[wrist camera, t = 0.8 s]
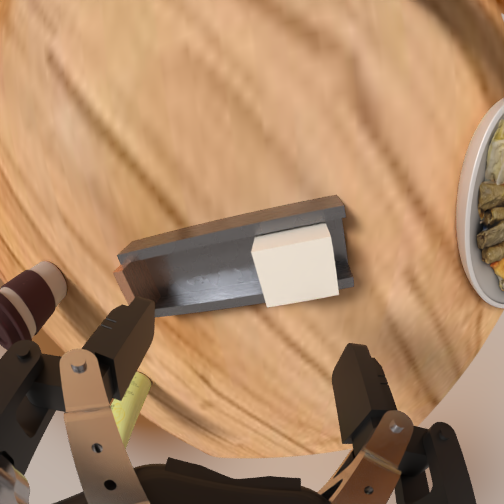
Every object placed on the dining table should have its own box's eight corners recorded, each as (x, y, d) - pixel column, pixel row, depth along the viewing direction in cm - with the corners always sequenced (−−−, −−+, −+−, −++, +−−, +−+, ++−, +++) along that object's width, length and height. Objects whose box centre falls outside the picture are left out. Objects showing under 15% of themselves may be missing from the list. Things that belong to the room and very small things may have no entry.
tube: (132, 364, 45) (87, 452, 27) (156, 378, 46) (118, 469, 28) (125, 377, 47) (84, 458, 30) (147, 390, 48) (112, 473, 30)
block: (322, 214, 29) (331, 236, 24) (330, 265, 31) (339, 294, 26) (257, 228, 30) (251, 252, 25) (270, 276, 33) (267, 307, 27)
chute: (336, 194, 29) (348, 211, 24) (347, 268, 32) (357, 297, 27) (132, 241, 34) (108, 263, 29) (158, 300, 38) (141, 327, 32)
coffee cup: (82, 305, 40) (31, 366, 27) (46, 302, 42) (-1, 353, 28) (61, 250, 36) (-5, 304, 23) (27, 253, 38) (-31, 299, 24)
